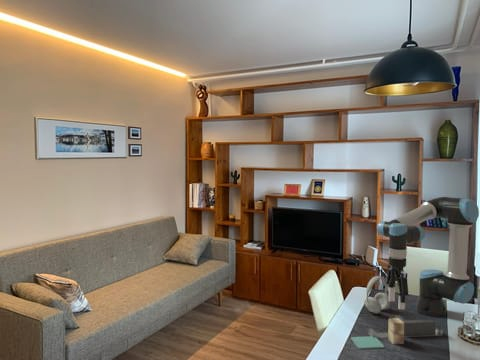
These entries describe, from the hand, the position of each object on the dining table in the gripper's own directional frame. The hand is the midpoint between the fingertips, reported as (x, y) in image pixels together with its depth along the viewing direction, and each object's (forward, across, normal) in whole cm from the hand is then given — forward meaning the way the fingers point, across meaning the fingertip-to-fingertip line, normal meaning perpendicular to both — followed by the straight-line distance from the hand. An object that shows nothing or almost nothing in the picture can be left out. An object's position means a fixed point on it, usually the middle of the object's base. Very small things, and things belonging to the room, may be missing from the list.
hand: (396, 304), depth 176 cm
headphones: (+18, -34, +6) cm, 38 cm away
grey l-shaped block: (+17, -9, +14) cm, 24 cm away
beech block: (+17, 0, 0) cm, 17 cm away
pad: (+17, 0, -14) cm, 22 cm away
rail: (+17, -6, +8) cm, 20 cm away
